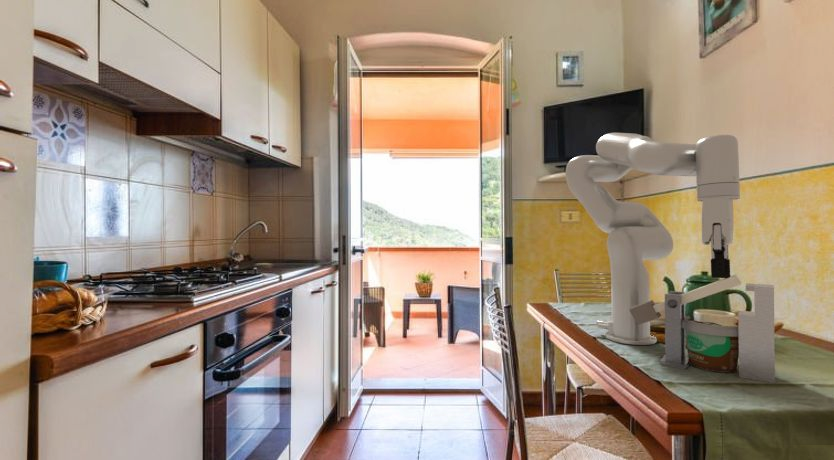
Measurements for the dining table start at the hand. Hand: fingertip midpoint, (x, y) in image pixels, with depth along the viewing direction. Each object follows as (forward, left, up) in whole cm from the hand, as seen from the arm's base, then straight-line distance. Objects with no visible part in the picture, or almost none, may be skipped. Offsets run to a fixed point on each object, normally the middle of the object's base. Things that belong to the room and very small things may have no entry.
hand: (720, 277), depth 88 cm
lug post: (+6, 0, -20) cm, 21 cm away
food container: (-3, 0, -20) cm, 21 cm away
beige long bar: (-6, 0, -7) cm, 9 cm away
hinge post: (-9, 0, -20) cm, 22 cm away
